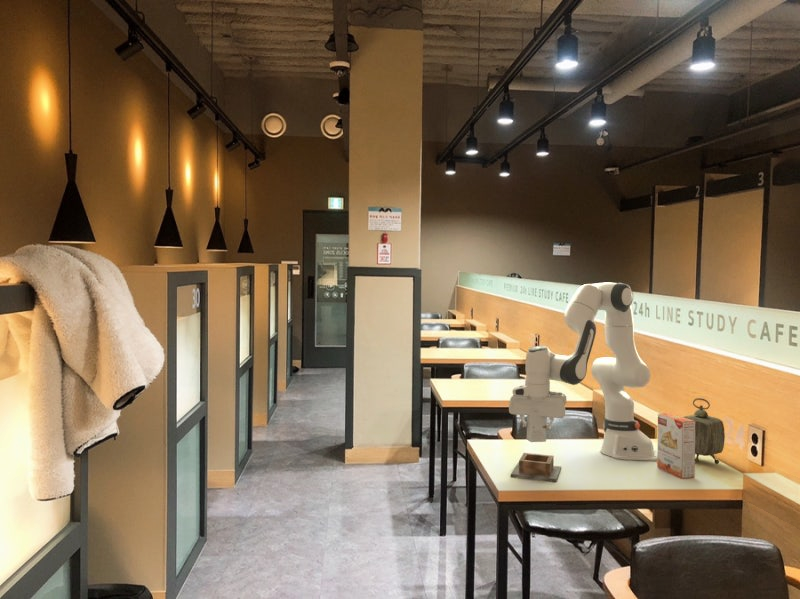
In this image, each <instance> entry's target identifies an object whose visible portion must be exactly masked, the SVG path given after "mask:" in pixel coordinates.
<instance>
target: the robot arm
mask: <svg viewBox="0 0 800 599" xmlns="http://www.w3.org/2000/svg"><path fill="white" fill-rule="evenodd" d="M633 301H634V293H633V290H632V288H631V287H630V285H629V284H626V283H622V282H618V283H617V282H609V281H608V282H598V283H592V282H591V283H586V284H583V285H581V286H580V287H579V288H578V289H577V290H576V292H575V293H574V294H573V296H572V298H571V299H570V301H569V303H568V305H567V307H566V308H565V311H564V315H563V317H564V319H563V320H564V322H565V324H566V326H567V327H568V328H569V329H570V330H571V331H572V332H574V333H576V334H577V335H578V337H577V338H578V339H577V342H576V345H575V348H574V351H573V353H572V354H571V355H561V354H556V353H554V352H552V351H551V350H550V348H549V347H548V346H546V345H535V346H532V347H530V348H528V349H527V351H526V357H525V368H524V369H525V370H524V371H525V374H526V376H525V380H524V381H525V382H524V383H525V384H523V385H520V386H516V387H514V388H513V389H512V396H511V397H510V400H509V405H508V412H509V414H511V415H516V416H517V415H518V416H519V418H520V420H521V422H522V428H527V421H526V420H525V416H527V415H528V416H530V409H538V415H539V416H540V417H547V418H549V423H546V430H551V428H552V427H551V425H552V424H553V422H554V419H564V418H565V417H566V404H567V396H566V395H565V394H564V393H563V392H561V391H557V392H556V391H551V387H550V386H551V385H550V384H551V382H550V380H552V381H556V382H563V383H565V384H569V385H571V386H576V385H578V384H580V383H581V382H582V381H584V379H585V377H586V375H587V370H588V362H589V359H590V356H591V353H592V348H593V345H594V342H595V338H596V334H597V326H596V324H595V318H596V316H597V314H598V312H599V311H605V315H604V338H605V339H604V340H605V341H604V342H605V345H606V346H607V348H609V349H610V350H611V351H612V353H613V355H614V357H609V356H607V357H606V356H605V357H599V358H596V359H595V360H594V361H593V363H592V365H591V375H592V376H593V379H594V380H596V381H597V383H598V384H599V386H600V388H601V391H602V393H603V397H604V408H605V409H604V415H605V416H604V418H603V433H604V435H603V440H602V441H603V442H602V444H601V449H600V452H601V454H603V455H605V456H609V457H613V458H614V459H617V460H632V461H651V462H654V461H657V453H658V450H654V444H653V442H652V440H651V438H649V437H648V435H646V434H645V433H643V432H642V431H641V430H640V428H641V425H640V423H639V421H638V420H635V419H634V415H635V413H634V412H635V410H634V409H635V403H634V400H633V398H632V397H631V396H630V395H629V394H628V392H626V390H625V387H626V388H632V389H633V388H634V389H635V388H636V389H637V388H644V387H646V386H647V384H649V382H650V380H651V371H650V368H649V367H648V365H647V364H646V363H645V362H644V361H643V360H642V359H641V357H640V355H639V353H638V351H637V348H636V344H635V334H634V330H635V329H634V317H633V316H634V313H633V310H632V304H633Z"/></svg>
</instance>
